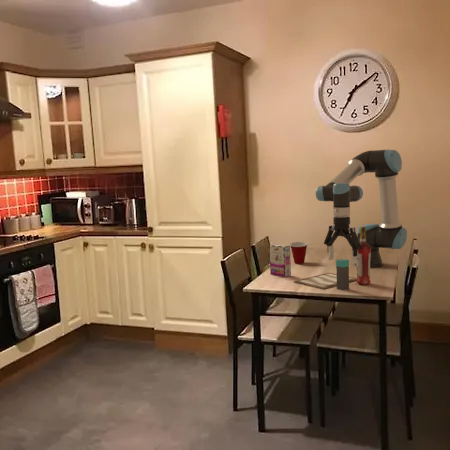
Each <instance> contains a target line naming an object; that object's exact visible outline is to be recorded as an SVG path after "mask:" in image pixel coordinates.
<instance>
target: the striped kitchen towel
mask: <svg viewBox="0 0 450 450" xmlns="http://www.w3.org/2000/svg"><path fill="white" fill-rule="evenodd" d="M356 281H357V277H352V276H349V283H351V282H356ZM293 283H294V284H299V285H302V286H306V287H311V288H315V289H320V290H326V289H330V288H334V287H337V273H333V272H324V273H322V274H318V275H314V276H310V277H305V278H302V279H298V280H295V281H294V280H293Z"/></svg>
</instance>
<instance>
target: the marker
mask: <svg viewBox="0 0 450 450" xmlns="http://www.w3.org/2000/svg"><path fill="white" fill-rule="evenodd" d="M335 267H336V268H335V269H336V274H337V286H336V289H337V290H339V291H346V290H349V289H350V282H349V277H350V260H349V259H347V258H346V259H345V258H339V259H336V260H335Z"/></svg>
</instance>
